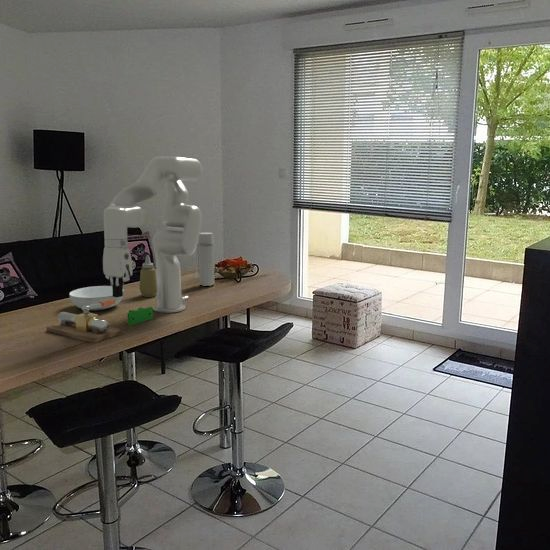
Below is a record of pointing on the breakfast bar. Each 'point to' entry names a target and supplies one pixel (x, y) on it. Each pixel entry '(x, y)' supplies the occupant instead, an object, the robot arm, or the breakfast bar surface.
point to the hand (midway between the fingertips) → (117, 296)
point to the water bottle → (205, 259)
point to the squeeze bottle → (148, 279)
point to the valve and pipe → (84, 322)
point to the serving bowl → (93, 296)
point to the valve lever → (98, 305)
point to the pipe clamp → (140, 315)
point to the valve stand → (82, 335)
